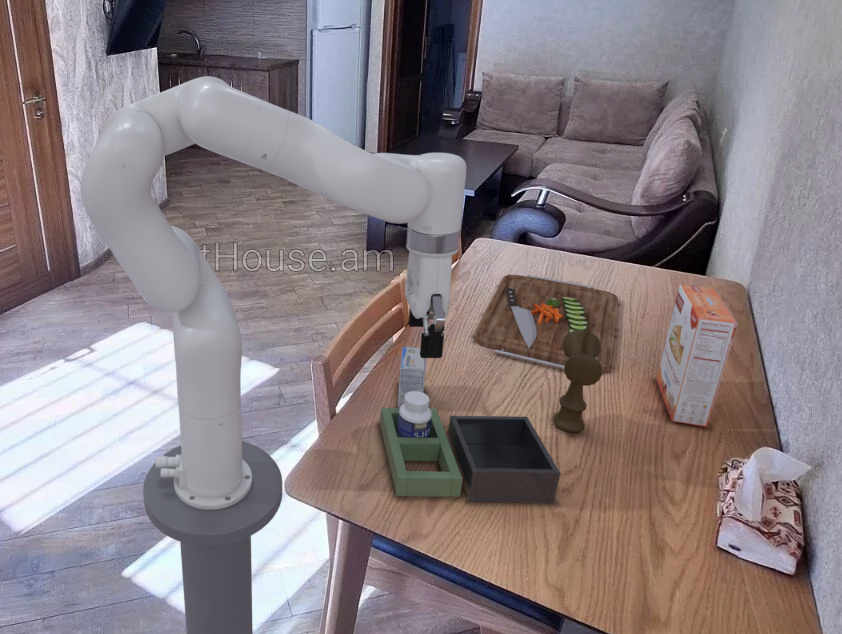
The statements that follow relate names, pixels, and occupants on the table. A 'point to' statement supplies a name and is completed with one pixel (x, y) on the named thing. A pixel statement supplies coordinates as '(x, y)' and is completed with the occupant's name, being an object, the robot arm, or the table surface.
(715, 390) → the cracker box
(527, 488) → the dark grey open bin
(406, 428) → the pill bottle
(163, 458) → the robot arm
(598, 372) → the kendama
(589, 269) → the table surface
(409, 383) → the medicine box
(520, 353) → the chopping board
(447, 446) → the rack
